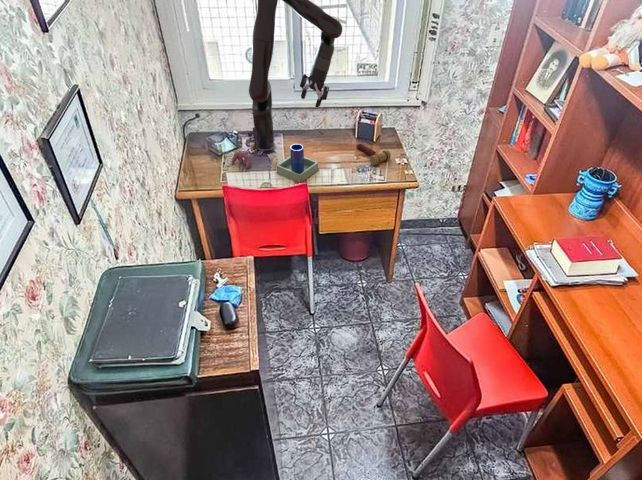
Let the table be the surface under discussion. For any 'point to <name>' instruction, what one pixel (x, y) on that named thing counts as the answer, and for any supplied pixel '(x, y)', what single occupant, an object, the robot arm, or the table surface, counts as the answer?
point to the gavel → (375, 154)
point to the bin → (285, 170)
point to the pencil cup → (297, 158)
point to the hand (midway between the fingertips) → (309, 102)
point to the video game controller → (240, 156)
